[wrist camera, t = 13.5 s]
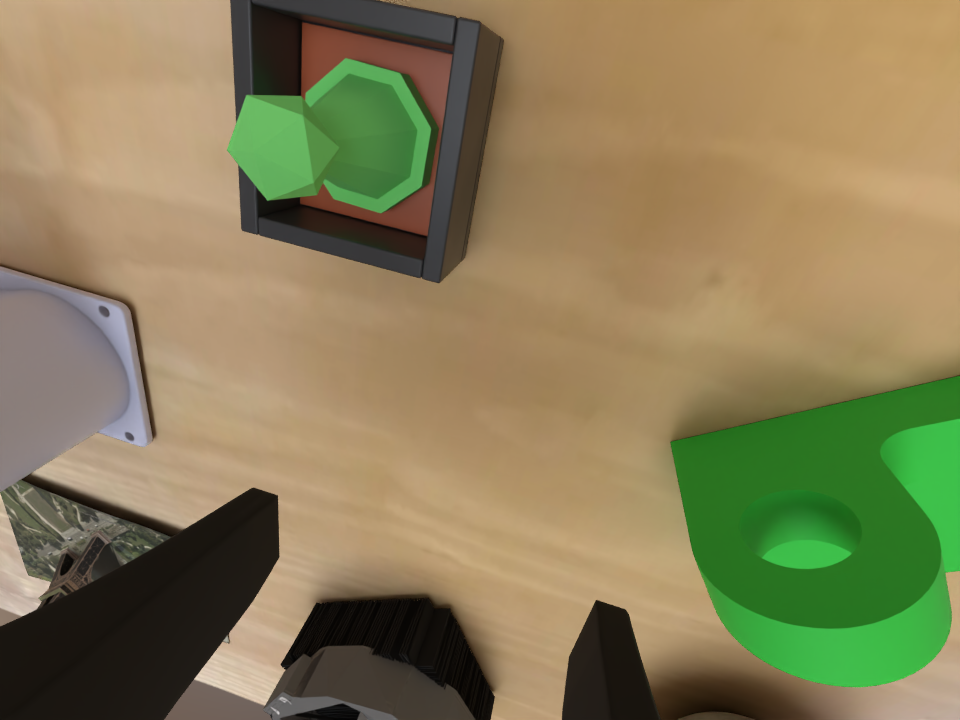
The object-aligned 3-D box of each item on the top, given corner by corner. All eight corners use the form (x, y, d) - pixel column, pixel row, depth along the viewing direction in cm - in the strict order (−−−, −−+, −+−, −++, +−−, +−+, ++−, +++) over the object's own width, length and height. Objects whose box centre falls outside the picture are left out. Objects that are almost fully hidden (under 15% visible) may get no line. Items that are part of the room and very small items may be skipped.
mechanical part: (713, 555, 20) (769, 783, 13) (670, 441, 18) (709, 638, 11) (1101, 501, 16) (1491, 803, 9) (1097, 344, 14) (1588, 571, 7)
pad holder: (294, 214, 18) (240, 231, 15) (294, -4, 15) (227, -31, 12) (464, 259, 17) (439, 284, 14) (504, 39, 14) (481, 20, 11)
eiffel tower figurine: (220, 541, 28) (-58, 847, 16) (229, 643, 33) (20, 934, 21) (-2, 463, 29) (-400, 689, 18) (38, 571, 34) (-254, 804, 23)
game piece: (451, 201, 16) (374, 244, 10) (333, 216, 17) (210, 261, 12) (425, 45, 14) (316, 1, 9) (295, 74, 15) (129, 51, 10)
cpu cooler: (492, 834, 24) (324, 811, 27) (511, 709, 29) (367, 703, 32) (411, 701, 20) (229, 694, 23) (450, 584, 25) (295, 593, 28)
